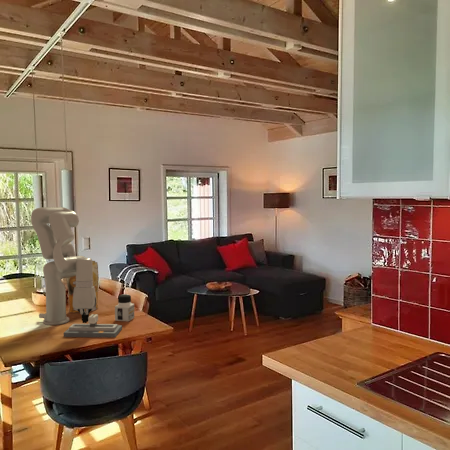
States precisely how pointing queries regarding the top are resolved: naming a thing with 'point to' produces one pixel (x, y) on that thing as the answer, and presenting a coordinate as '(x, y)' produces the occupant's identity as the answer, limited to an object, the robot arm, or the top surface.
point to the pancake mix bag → (71, 286)
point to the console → (93, 330)
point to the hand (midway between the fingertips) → (85, 322)
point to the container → (124, 308)
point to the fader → (93, 320)
